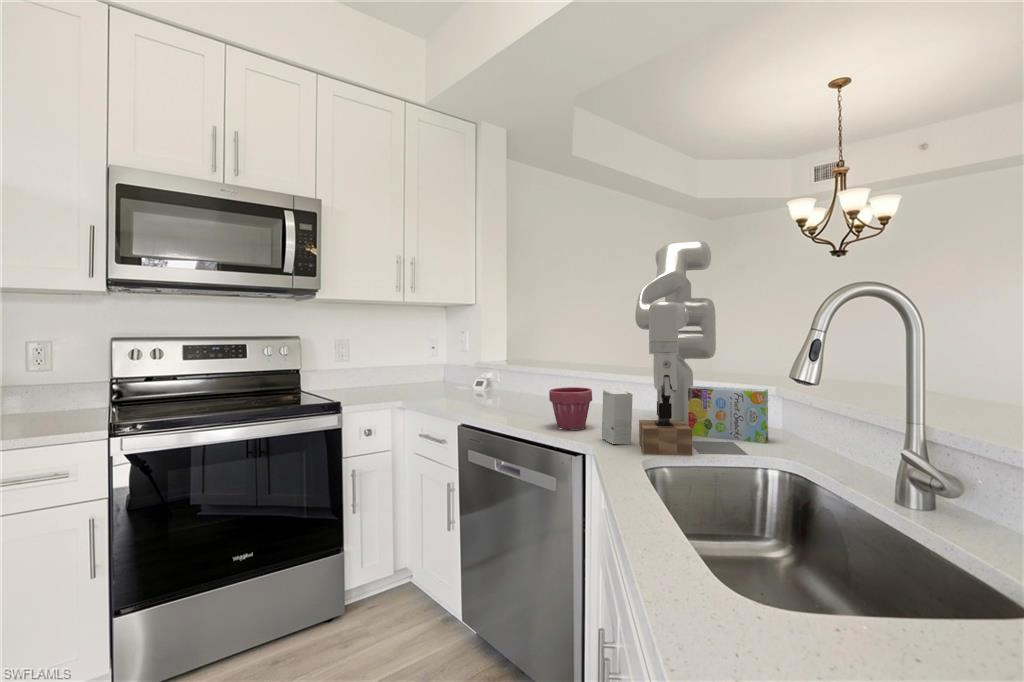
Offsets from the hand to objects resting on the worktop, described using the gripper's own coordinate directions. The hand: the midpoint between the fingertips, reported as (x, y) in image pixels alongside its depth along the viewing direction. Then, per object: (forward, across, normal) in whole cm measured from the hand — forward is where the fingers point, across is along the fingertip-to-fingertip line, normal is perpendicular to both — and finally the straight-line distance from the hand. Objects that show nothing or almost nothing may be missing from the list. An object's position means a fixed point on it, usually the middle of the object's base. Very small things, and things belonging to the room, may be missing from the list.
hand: (664, 416), depth 132 cm
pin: (+3, 0, 0) cm, 3 cm away
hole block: (+9, 0, 0) cm, 9 cm away
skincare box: (+9, +9, +12) cm, 18 cm away
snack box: (+9, +16, -20) cm, 27 cm away
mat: (+9, +3, -14) cm, 17 cm away
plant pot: (+9, +28, +26) cm, 39 cm away
